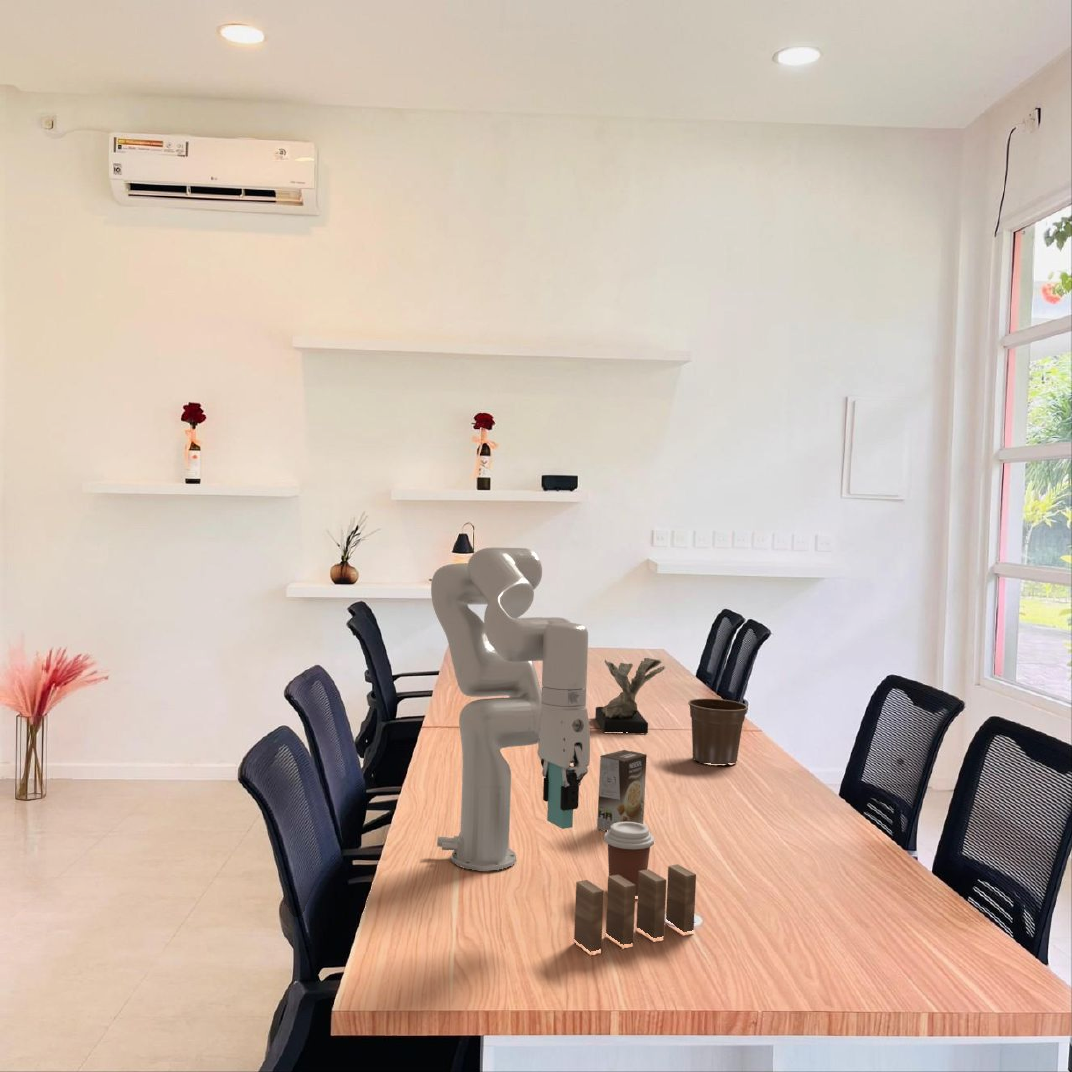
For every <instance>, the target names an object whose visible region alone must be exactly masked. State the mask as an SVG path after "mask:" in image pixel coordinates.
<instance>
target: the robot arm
mask: <svg viewBox="0 0 1072 1072" xmlns="http://www.w3.org/2000/svg"><path fill="white" fill-rule="evenodd" d="M542 578H543V567H542V562H541V560H540V558H539V556H538V555H537V554H536V553H535V551H533V550H531V549H530V548H525V547H524V548H523V547H485V548H482V549H478V550H477V551H475V553H473V554H472V555H471V556H470V558H469V560H468V561H467V562H463V563H462V562H461V563H451V564H449V563H448V564H447V565H443V566H441V567H439V568H438V569H436V571H435V572H434V574H433V576H432V579H431V587H430V590H431V592H430V593H431V602H432V606H433V610H434V612H435V615H436V617H437V620H438V622H439V624H440V626H441V627H442V630H443V631H444V634H445V636H446V639H447V643H448V647H449V648H448V649H449V653H450V657H451V662H452V666H453V670H454V674H455V675H454V676H455V679H456V682H457V686H458V687H459V690H460V692H461V693H462V694H463V695H465V696H467V697H473V698H481V699H475V700H473V701H470V702H468V703H466V704H465V705H464V706H463V707H462V709H461V711H460V713H459V718H458V724H459V725H458V726H459V733H460V742H461V751H462V752H461V754H462V756H461V757H462V767H461V768H462V769H461V770H462V774H461V778H462V779H461V805H460V806H461V808H460V831H459V834H458V835H453V837H448V836H437V843H436V846H437V847H438V848H439V847H440V848H441V850H442V851H452V852H451V862H452V861H453V862H454V863H455V864H456V866H457V867H459V866H462V867H464V868H467V869H466V870H468V869H472V870H471V871H474V870H478V871H477V872H481V871H480V870H484V871H483V872H490V871H489V870H497V871H499V870H498V869H502V868H506V867H508V866H511V867H513V866H514V865H515V864H516V862H517V854H516V852H515V851H514V850H512V849H511V848H509V845H510V821H511V819H510V818H511V796H512V795H511V793H512V769H511V766H510V764H509V763H508V761H507V760H506V758H505V757H504V756H503V754H502V752H501V750H502V749H505V748H506V749H507V748H512V747H526V746H533V745H537V747H538V748H537V756H538V758H539V760H540V765H541V767H542V772H541V774H542V775H541V776H542V777H543V787H542V788H543V789H542V801H544V802H547V803H548V788H549V779H548V777H549V763H552V764H554V765H556V766H559V767H561V768H562V776H563V785H564V786H561V799H560V809H561V810H563V811H565V810H572V809H573V810H578V808H579V801H580V800H579V795H580V786H581V784H582V780H583V779H584V777H585V776H586V775H587V774H588V772H589V768H588V767H589V766H590V763H591V737H590V736H591V735H590V721H589V714H588V708H586V707H587V682H588V680H587V679H588V650H589V631H588V629H587V627H586V626H585V625H583V624H580V623H576V622H572V621H570V620H568V619H567V618H564V617H554V616H553V617H552V616H551V617H541V616H540V617H521V616H523V615H524V614H525V613H526V612H528V610H529V609H530V608H531V606H532V604H533V601H534V597H535V594H534V593H535V592H534V590H535V589H537V587H538V586H539V585H540V583H541V581H542ZM469 605H486V608H485V609H484V610H485V611H484V617H483V620H482V619H481V617H480V616H479V615H478V614H477V613H476V612H474V611H473V610H472V609H471V608H469ZM540 661H542V668H541V669H542V672H541V686H540V682H539V677H538V675H537V671H536V670H537V669H536V668H535V665H534V662H540ZM506 696H507V697H506ZM489 697H492V698H489ZM493 697H494V698H493ZM571 764H573V766H572V765H571ZM569 766H572V767H569ZM570 770H574V773H572V774H571V775H570V776H569V773H568V771H570ZM453 862H452V863H453ZM454 863H453V864H454ZM514 863H515V864H514ZM455 864H454V865H455ZM513 864H514V865H513ZM464 868H463V869H464ZM506 869H507V868H506ZM502 870H503V869H502Z"/></svg>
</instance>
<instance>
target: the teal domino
mask: <svg viewBox="0 0 1072 1072" xmlns="http://www.w3.org/2000/svg"><path fill="white" fill-rule="evenodd" d="M569 767H572V765H570V766H569ZM568 773H569V776H570V775H571V774H572V773H574V770H570V771H568ZM548 779H549V788H548V801H547V811H546V813H547V814H546V815H547V816H546V821H547V822H549V823H551V824H553V825H555V826H556V827H558V828H560V829H562V830H565V829H571V828H573V827H574V825H573V824H574V809H572V810H565V811H563V810H561V809H560V799H561V786H564V785H563V776H562V768H561V767H559V766H556V765H554V764H552V763H549V777H548Z"/></svg>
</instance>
